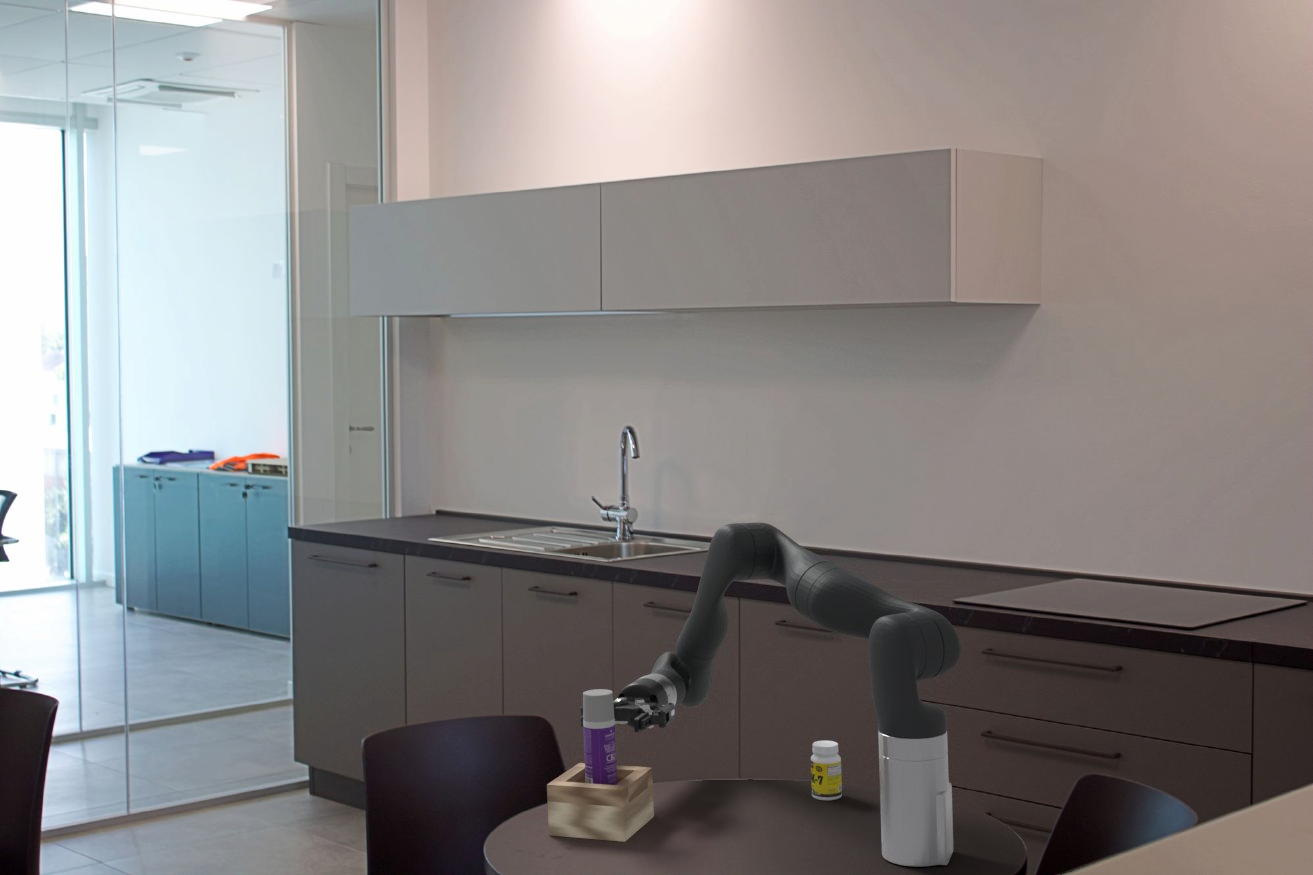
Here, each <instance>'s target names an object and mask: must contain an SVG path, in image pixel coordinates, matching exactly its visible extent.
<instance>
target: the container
mask: <svg viewBox="0 0 1313 875" xmlns="http://www.w3.org/2000/svg"><path fill="white" fill-rule="evenodd" d="M613 701H614V692H613V690H611V689H605V688H599V689H598V688H596V689H595V688H594V689H589V690H586V691H583V693H582V706H583V727H582V730H583V751H584V752H583V754H584V763H585V781H586V783H591V784H605V785H616V784H617V770H616V765H617V749H616V747H617V746H616V724H615V720H614V704H613Z"/></svg>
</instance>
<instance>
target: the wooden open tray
mask: <svg viewBox="0 0 1313 875" xmlns="http://www.w3.org/2000/svg"><path fill="white" fill-rule="evenodd" d="M616 770H617V784H616V785H605V784H591V783H586V781H585V762H579V763H577V764H575V765H574V766H572V767H571V768H570V769H568V770H566V771H565V772H563V773H562V774H560V775H559V776H558V777H556V778H554V779H553V780H551V781H550V782H549V783H547V784H546V793H547V795H546V796H547V797H546V798H547V799H546V800H547V801H546V802H547V820H548V822H547V823H548V824H547V825H548V826H547V827H548V836H551V837H552V836H554V837H564V838H566V837H567V838H575V839H577V838H578V839H589V840H590V839H591V840H601V841H610V842H611V841H613V842H623V843H625V842H627V841H628V840H629V839H630V838H631V837H633V836H634V834H636V833H637V832H638V831H639V830H640V829H642V828H643V827H644V826H645V825H646V824H647V823H648V822H650V821H651V820H652V819H653V818H654V817H655V809H654V807H655V806H654V804H655V803H654V784H653V781H654V780H653V776H654V775H653V767H649V766H637V765H636V766H633V765H620V764H619V765H618V764H616Z"/></svg>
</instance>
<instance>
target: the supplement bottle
mask: <svg viewBox="0 0 1313 875" xmlns="http://www.w3.org/2000/svg"><path fill="white" fill-rule="evenodd" d="M811 751H812V753H813V754H812V755H811V756H810V779H811V780H810V781H811V783H810V785H811V796H812V797H813V798H814V799H816V800H820V801H834V800H838V799H841V798H842V796H843V785H842V782H843V780H842V759H841V756H840V755H839V743H838V742H836V741H833V740H816V741H814V742H813V743H812V750H811Z"/></svg>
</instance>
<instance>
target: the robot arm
mask: <svg viewBox="0 0 1313 875" xmlns="http://www.w3.org/2000/svg"><path fill="white" fill-rule="evenodd" d="M755 580H756V581H758V580H770V581H774V582H777V583H779V584H781V585H783V586H784V587H785V588H786V595H787V598H788V601H789V603H790V605H791V607H792V608H793V609H794V610H795V611H796V612H797V613H798V614H800V616H802V617H804V618H805V619H807V620H809V621H810V622H812V623H813V624H816V625H817V626H819V627H821V629H822V628H823V629H825V630H827V631H830V632H833V633H836V634H841V635H845V636H849V637H854V638H861V639H866V640H868V664H869V676H870V685H871V686H870V688H871V689H870V690H871V699H872V705H873V709H874V712H875V715H876V720H877V731H878V732H877V733H878V734H877V736H878V762H879V763H878V764H879V768H878V769H879V800H880V801H879V802H880V806H879V807H880V831H881V832H880V833H881V834H880V836H881V837H880V839H881V840H880V841H881V855H882V857H883V858H884V860H886V861H888V862H890V863H892V864H896V865H899V866H906V867H916V868H917V867H931V866H939V865H940V866H947V865H948V864H949V862H950V860H951V857H952V856H953V852H954V828H953V827H954V824H953V823H954V821H953V792H952V791H953V788H952V786H953V785H952V783H951V782H950V780H949V752H948V751H949V749H948V718H947V712H946V711H945V710H944V708H942V707H940V706H939V705H936V704H932V703H929V702H924V701H922V700H921V698H920V696H919V690H918V681H923V680H929V679H933V678H937V677H940V676H944V675H945V674H947V673H949V672H951V671H952V670H953V669H954V668H955V667H956V665H957V664H958V662H959V660H960V658H961V652H962V650H961V647H962V646H961V641H960V638H959V636H958V633H957V630H956V629H955V628H954V626H953V625H952V622H950V621H949V620H948V618H946V617H945V616H944V615H943V614H941V613H939V612H937V611H935V610H933V609H931V608H929V607H925V606H923V605H919V604H917V603H914V602H911V601H908V600H907V599H904V598H900V597H899V596H896V595H893V594H891V593H890V592H887V590H884V589H882V588H880V587H879V586H877V585H875V584H873V583H871V582H869V581H868V580H865V579H863V578H861V577H860V576H858V575H856V574H854V573H852V572H851V571H849V570H848V569H845V567H842V566H840V565H838V564H837V563H834V562H833V561H831V560H828V559H826V558H824V557H822V556H820V555H818V554H816V553H815V552H813V551H810V550H809V549H806V548H805V547H803V546H801V545H800V544H799V543H797V542H796V541H795V540H793V539H792V538H791V537H790V536H788V535H787V534H786V533H784V532H783V531H781V530H780V529H779V528H777V527H775V526H774V525H772V524H769V523H766V522H739V523H738V522H735V523H728V524H724V525H721V526H720V527H719V528H718V529H717V530H716V531H715V532H714V535H713V536H712V539H711V541H710V544H709V546H708V550H707V552H706V557H705V561H704V565H703V567H702V571H701V575H700V580H699V583H698V588H697V592H696V596H695V599H694V603H693V605H692V609H691V611H690V613H689V616H688V617H687V619H686V621H685V624H684V625H683V627H682V629H681V632H680V634H679V636H678V638H677V639H676V640H677V641H676V643H675V651H665V652H664V653H662V654H661V655H660V656H659V657H658V659H657V660H656V662H655V663H654V665H653V666H652V669H651V671H650V673H649V674H647V675H643V676H641V677H639V678H637V679H636V680H634V681H633V682H631V683H629V684H627V685H626V686H625V687H623V688H622V689H621V691H620V692H619V694H618V695H617V698H616V699H613V704H614V720H615V725H616V724H617V725H618V724H621V725H626V726H627V727H629V728H631V729H633V730H634V733H638V734H639V733H641V732H643V731H644V730H647V729H652V728H654V725H658V728H661V729H664V728H667V727H668V726H669V725H670V724H671V723H672V722H673V721H674V720H675V719H676V718H675V709H676V708H677V707H679V705H681V706H683V707H684V708H687V709H688V708H689V709H690V708H696V707H698V706H700V705H701V704H702V703H703V702H704V701H705V700H706V698H707V697H708V694H709V692H710V689H711V685H712V678H713V671H714V670H713V669H714V662H715V658H716V656H717V654H718V652H719V650H720V649H721V647H722V644H723V642H724V641H725V638H726V635H727V634H728V633H727V632H728V629H729V617H728V616H729V615H728V612H727V608H726V604H725V600H724V596H725V593H726V591H727V590H728V588H729V587H730V585H731V584H732V583H733V582H734V581H736V582H740V581H755ZM579 716H580V717H579V719H580V722H579V723H580V727H582V728H583V705H581V706H580V707H579Z"/></svg>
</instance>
